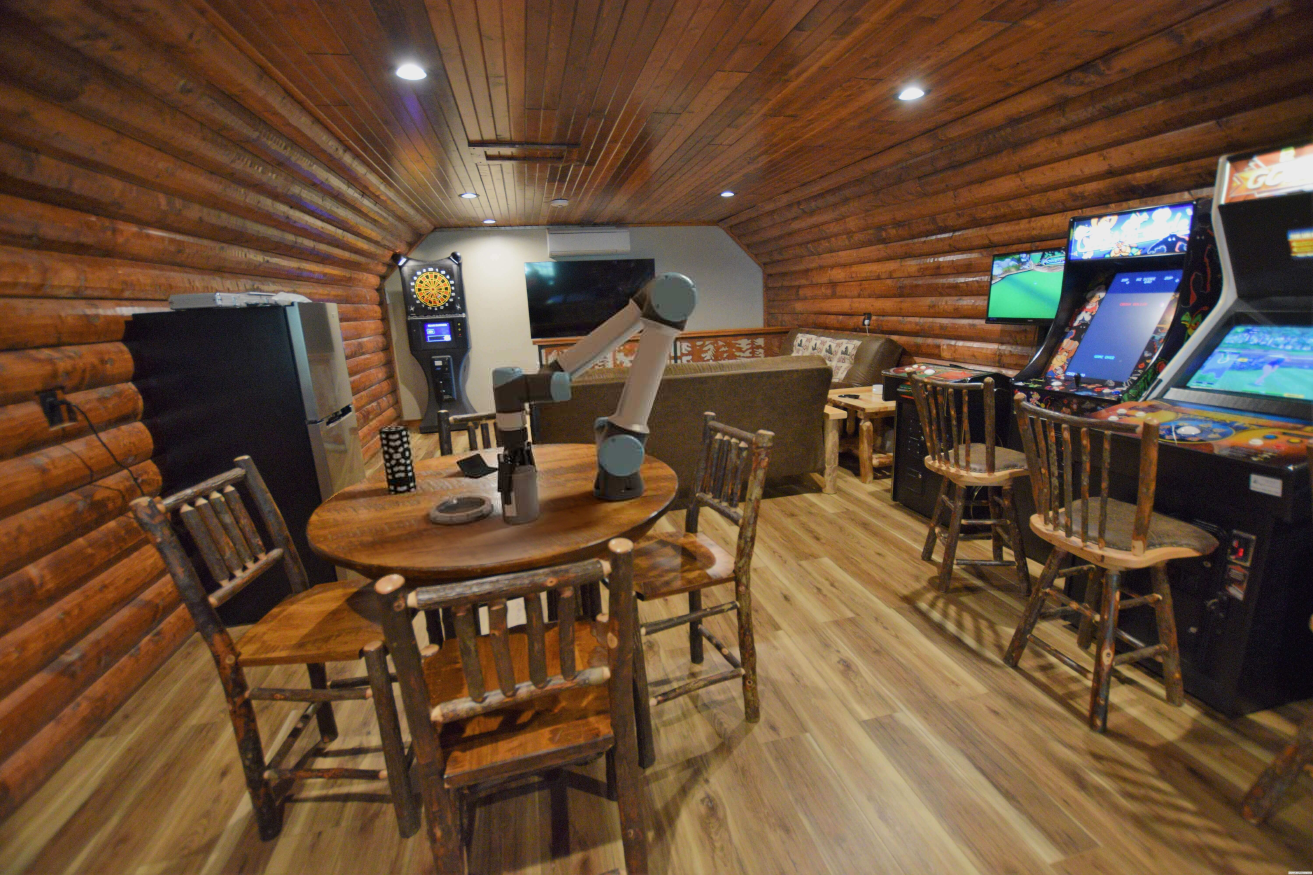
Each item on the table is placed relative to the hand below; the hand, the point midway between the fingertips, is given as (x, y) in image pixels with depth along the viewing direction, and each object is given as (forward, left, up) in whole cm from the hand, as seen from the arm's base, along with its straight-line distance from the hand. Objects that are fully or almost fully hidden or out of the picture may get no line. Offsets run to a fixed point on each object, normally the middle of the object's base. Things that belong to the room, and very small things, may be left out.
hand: (520, 508), depth 155 cm
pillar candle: (0, 0, -3) cm, 3 cm away
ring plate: (+19, 0, -3) cm, 19 cm away
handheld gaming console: (+36, -35, -3) cm, 50 cm away
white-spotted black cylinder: (+51, -15, -3) cm, 53 cm away
